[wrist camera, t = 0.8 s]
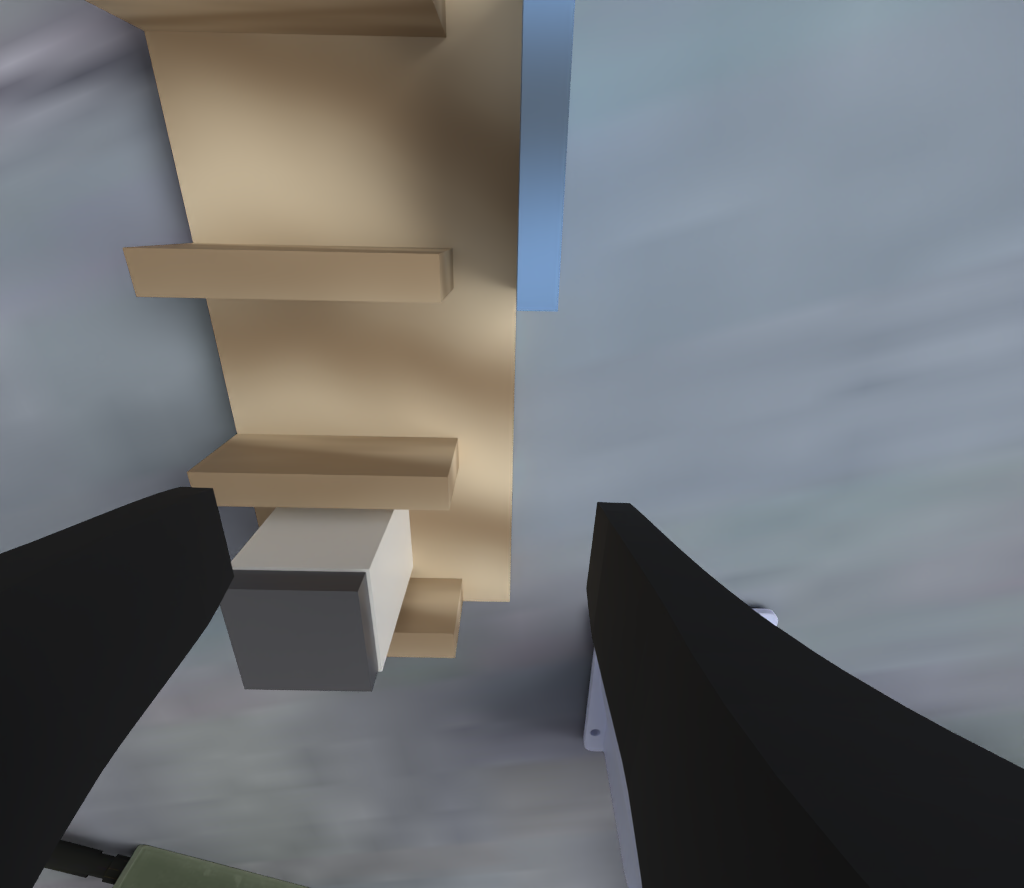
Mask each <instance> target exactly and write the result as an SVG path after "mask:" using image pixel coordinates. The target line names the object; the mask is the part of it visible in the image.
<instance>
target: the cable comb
mask: <svg viewBox="0 0 1024 888" xmlns="http://www.w3.org/2000/svg"><path fill="white" fill-rule="evenodd" d="M85 1H87V2H89V3H91V4H93V5H95V6H97V7H99V8H101V9H103V10H104V11H106V12H108V13H110V14H112V15H114V16H116V17H118V18H120V19H122V20H124V21H126V22H128V23H130V24H132V25H134V26H136V27H138V28H139V29H141V30H143V31H144V32H145V36H146V41H147V45H148V49H149V54H150V58H151V62H152V67H153V71H154V75H155V80H156V84H157V88H158V93H159V97H160V101H161V106H162V110H163V114H164V119H165V123H166V127H167V132H168V136H169V140H170V144H171V149H172V153H173V157H174V162H175V166H176V170H177V175H178V179H179V183H180V188H181V192H182V196H183V201H184V205H185V209H186V214H187V218H188V222H189V227H190V231H191V235H192V240H193V243H185V244H170V245H155V246H140V247H125V248H123V251H124V255H125V258H126V262H127V265H128V269H129V272H130V276H131V279H132V283H133V286H134V290H135V293H136V297H175V298H206V300H207V305H208V309H209V313H210V318H211V322H212V326H213V331H214V335H215V339H216V344H217V348H218V352H219V357H220V361H221V365H222V370H223V374H224V378H225V383H226V387H227V391H228V396H229V400H230V404H231V409H232V413H233V417H234V422H235V426H236V430H237V434H236V435H235V436H234V437H232V438H231V439H230V440H228V441H227V442H226V443H224V444H223V445H222V446H220V447H219V448H218V449H217V450H215V451H214V452H213V453H211V454H210V455H209V456H207V457H206V458H205V459H203V460H202V461H201V462H200V463H198V464H197V465H196V466H194V467H193V468H192V469H190V470H189V471H188V472H187V474H188V478H189V481H190V485H191V487H197V488H213V490H214V494H215V498H216V503H217V506H236V507H254V508H255V513H256V517H257V521H258V526H259V528H260V526H261V525H262V524H263V523H264V522H265V520H266V519H267V518H268V517H269V516H270V514H271V513H272V512H273V511H274V510H275V508H276V507H290V508H343V509H396V510H409V519H410V532H411V544H412V557H413V569H412V572H411V575H410V579H409V582H408V585H407V589H406V592H405V596H404V599H403V602H402V606H401V609H400V613H399V616H398V619H397V623H396V626H395V630H394V633H393V636H392V640H391V643H390V647H389V650H388V653H387V657H430V658H455V655H456V647H457V640H458V633H459V625H460V618H461V611H462V603H463V601H489V602H510V565H511V518H512V471H513V425H514V378H515V332H516V295H517V311H558V296H559V278H560V260H561V243H562V225H563V207H564V189H565V171H566V153H567V135H568V117H569V99H570V81H571V63H572V45H573V27H574V9H575V0H85Z"/></svg>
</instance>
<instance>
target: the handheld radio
mask: <svg viewBox="0 0 1024 888" xmlns="http://www.w3.org/2000/svg"><path fill="white" fill-rule="evenodd" d="M44 868H48V869H52V870H56V871H61V872H65V873H69V874H73V875H77V876H81V877H85V878H86V877H87V876H88V875H90V876H94V877H98V878H102V879H103V880H102V882H106V883H110V884H114V886H113V888H309V887H305V886H301V885H297V884H294V883H290V882H286V881H282V880H278V879H275V878H271V877H267V876H263V875H259V874H255V873H252V872H248V871H244V870H240V869H236V868H233V867H229V866H225V865H221V864H217V863H214V862H210V861H206V860H202V859H198V858H195V857H191V856H187V855H183V854H179V853H175V852H172V851H168V850H164V849H160V848H156V847H153V846H149V845H139V846H138V847H137V848H136V850H135V852H134V853H133V855H132V856H131V857H127V856H123V855H119V854H118V855H117V856H116V857H114V856H110V855H106V854H103V853H102V851H101V850H97V849H94V848H90V847H86V846H82V845H78V844H74V843H71V842H67V841H63V840H60V841H59V842H58V844H57V846H56V848H55V849H54V851H53V853H52V855H51V856H50V858H49V860H48V862H47V863H46V865H45V867H44Z"/></svg>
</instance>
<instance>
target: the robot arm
mask: <svg viewBox="0 0 1024 888" xmlns="http://www.w3.org/2000/svg"><path fill="white" fill-rule="evenodd" d="M233 578H234V573H233V569H232V565H231V560H230V556H229V552H228V548H227V544H226V540H225V536H224V531H223V527H222V523H221V519H220V515H219V511H218V507H217V503H216V498H215V494H214V490H213V488H197V487H178V488H175V489H171V490H167V491H164V492H161V493H158V494H155V495H152V496H149V497H146V498H144V499H141V500H138V501H135V502H133V503H130V504H127V505H125V506H122V507H120V508H117V509H114V510H112V511H109V512H107V513H104V514H102V515H99V516H97V517H94V518H92V519H89V520H87V521H84V522H82V523H79V524H76V525H74V526H71V527H69V528H66V529H64V530H61V531H59V532H56V533H54V534H51V535H49V536H46V537H44V538H41V539H39V540H36V541H33V542H31V543H28V544H25V545H23V546H20V547H17V548H15V549H12V550H9V551H7V552H4V553H1V554H0V888H33V886H34V884H35V882H36V881H37V879H38V877H39V875H40V874H41V872H42V870H43V869H44V867H45V865H46V863H47V862H48V860H49V858H50V856H51V855H52V853H53V851H54V849H55V848H56V846H57V844H58V842H59V841H60V839H61V838H62V836H63V834H64V833H65V831H66V829H67V828H68V826H69V824H70V823H71V821H72V820H73V818H74V816H75V815H76V813H77V811H78V810H79V808H80V806H81V805H82V803H83V802H84V800H85V798H86V797H87V795H88V793H89V792H90V790H91V788H92V787H93V785H94V784H95V782H96V780H97V779H98V777H99V775H100V774H101V772H102V771H103V769H104V768H105V766H106V765H107V764H108V762H109V761H110V759H111V758H112V756H113V755H114V753H115V752H116V750H117V749H118V747H119V746H120V745H121V743H122V742H123V740H124V739H125V738H126V736H127V735H128V734H129V732H130V731H131V730H132V728H133V727H134V725H135V724H136V723H137V721H138V720H139V719H140V717H141V716H142V715H143V713H144V712H145V711H146V709H147V708H148V707H149V705H150V704H151V702H152V701H153V700H154V698H155V697H156V696H157V694H158V693H159V692H160V690H161V689H162V688H163V686H164V685H165V684H166V682H167V681H168V680H169V678H170V677H171V675H172V674H173V673H174V671H175V670H176V669H177V667H178V666H179V665H180V663H181V662H182V661H183V659H184V658H185V656H186V655H187V654H188V652H189V651H190V649H191V648H192V647H193V645H194V644H195V643H196V641H197V640H198V638H199V637H200V636H201V634H202V633H203V631H204V630H205V628H206V627H207V626H208V624H209V622H210V621H211V619H212V617H213V615H214V614H215V612H216V610H217V608H218V607H219V605H220V603H221V601H222V599H223V597H224V595H225V593H226V591H227V590H228V588H229V586H230V584H231V582H232V580H233ZM586 589H587V598H588V608H589V617H590V625H591V632H592V639H593V643H594V651H593V660H592V668H591V677H590V685H589V694H588V702H587V710H586V719H585V727H584V736H583V742H584V747H585V748H586V749H587V750H589V751H604V755H605V761H606V767H607V773H608V779H609V785H610V791H611V797H612V803H613V809H614V815H615V821H616V827H617V833H618V839H619V845H620V850H621V856H622V862H623V868H624V874H625V878H626V881H627V885H628V888H1024V769H1023V768H1021V767H1019V766H1017V765H1015V764H1013V763H1011V762H1009V761H1007V760H1005V759H1003V758H1001V757H999V756H997V755H996V754H994V753H992V752H990V751H988V750H986V749H984V748H982V747H980V746H978V745H976V744H974V743H972V742H970V741H968V740H966V739H964V738H962V737H961V736H959V735H957V734H955V733H953V732H951V731H949V730H947V729H945V728H943V727H942V726H940V725H938V724H936V723H934V722H932V721H931V720H929V719H927V718H925V717H923V716H921V715H920V714H918V713H916V712H914V711H912V710H910V709H909V708H907V707H905V706H903V705H902V704H900V703H898V702H896V701H895V700H893V699H891V698H890V697H888V696H886V695H884V694H883V693H881V692H879V691H878V690H876V689H874V688H873V687H871V686H869V685H867V684H866V683H864V682H862V681H861V680H859V679H857V678H856V677H854V676H852V675H850V674H849V673H847V672H845V671H844V670H842V669H841V668H839V667H837V666H836V665H834V664H833V663H831V662H829V661H828V660H826V659H825V658H823V657H821V656H820V655H818V654H817V653H815V652H814V651H812V650H811V649H809V648H808V647H806V646H805V645H803V644H802V643H800V642H799V641H797V640H796V639H795V638H793V637H792V636H790V635H789V634H787V633H786V632H784V631H783V630H781V629H780V628H778V627H777V623H778V618H777V616H776V615H775V613H774V612H773V611H772V610H770V609H759V608H751V607H749V606H748V605H747V604H745V603H744V602H743V601H742V600H740V599H739V598H738V597H737V596H735V595H734V594H733V593H731V592H730V591H729V590H728V589H726V588H725V587H724V586H723V585H721V584H720V583H719V582H718V581H716V580H715V579H714V578H713V577H712V576H710V575H709V574H708V573H707V572H706V571H704V570H703V569H702V568H701V567H700V566H699V565H697V564H696V563H695V562H694V561H693V560H692V559H690V558H689V557H688V556H687V555H686V554H685V553H684V552H683V551H681V550H680V549H679V548H678V547H677V546H676V545H675V544H674V543H673V542H672V541H670V540H669V539H668V538H667V537H666V536H665V535H664V534H663V533H662V532H661V531H660V530H659V529H658V528H656V527H655V526H654V525H653V524H652V523H651V522H650V521H649V520H648V519H647V518H646V517H645V516H644V515H643V514H641V513H640V512H639V511H638V510H637V509H636V508H635V507H634V506H632V505H631V504H630V503H607V502H597V509H596V517H595V525H594V533H593V541H592V549H591V556H590V564H589V572H588V580H587V588H586Z"/></svg>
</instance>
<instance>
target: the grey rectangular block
mask: <svg viewBox="0 0 1024 888" xmlns="http://www.w3.org/2000/svg"><path fill="white" fill-rule="evenodd" d="M231 565H232V569H233V573H234V578H233V580H232V582H231V584H230V586H229V588H228V590H227V591H226V593H225V595H224V597H223V599H222V601H221V603H220V606H221V610H222V613H223V617H224V620H225V623H226V627H227V630H228V634H229V637H230V641H231V644H232V647H233V651H234V654H235V658H236V661H237V664H238V668H239V671H240V675H241V678H242V682H243V685H244V688H245V689H262V690H319V691H372V689H373V686H374V683H375V680H376V676H377V673H378V672H382V670H383V667H384V663H385V660H386V657H387V653H388V650H389V647H390V643H391V640H392V636H393V633H394V630H395V626H396V623H397V619H398V616H399V613H400V609H401V606H402V602H403V599H404V596H405V592H406V589H407V585H408V582H409V579H410V575H411V572H412V569H413V557H412V544H411V532H410V519H409V510H396V509H343V508H290V507H276V508H275V510H274V511H273V512H272V513H271V514H270V516H269V517H268V518H267V519H266V520H265V522H264V523H263V524H262V525H261V526H260V528H259V529H258V530H257V531H256V532H255V534H254V535H253V536H252V537H251V538H250V540H249V541H248V542H247V543H246V544H245V546H244V547H243V548H242V549H241V550H240V552H239V553H238V554H237V555H236V556H235V557H234V559H233V560H232V561H231Z"/></svg>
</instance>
